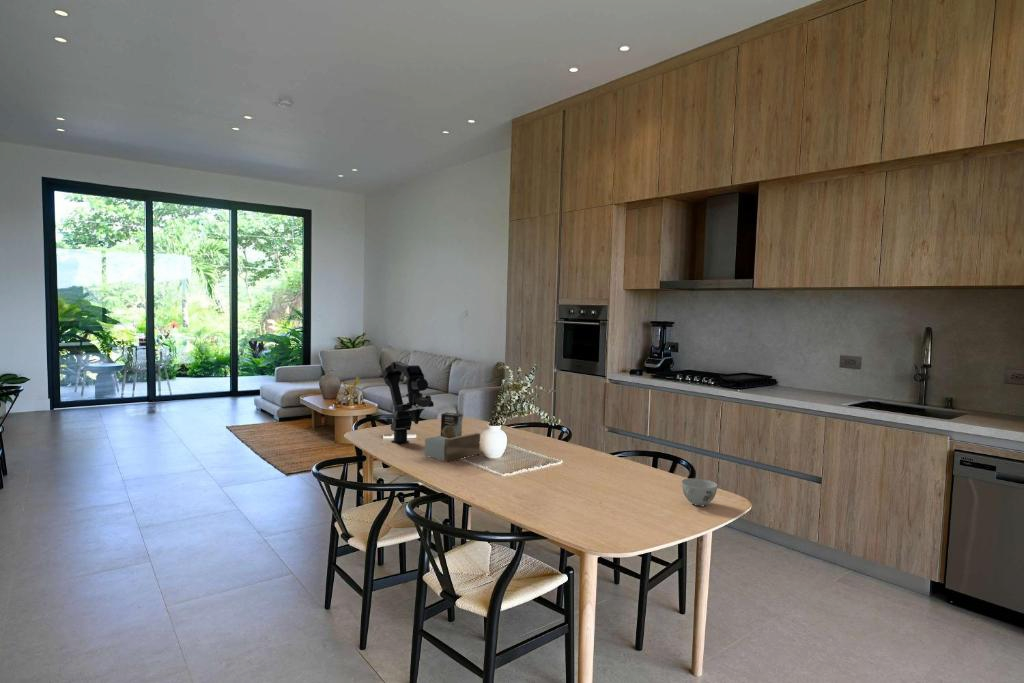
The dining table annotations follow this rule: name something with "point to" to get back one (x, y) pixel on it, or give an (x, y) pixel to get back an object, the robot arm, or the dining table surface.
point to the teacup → (699, 490)
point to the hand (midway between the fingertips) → (416, 424)
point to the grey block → (435, 447)
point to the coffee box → (451, 425)
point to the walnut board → (461, 447)
